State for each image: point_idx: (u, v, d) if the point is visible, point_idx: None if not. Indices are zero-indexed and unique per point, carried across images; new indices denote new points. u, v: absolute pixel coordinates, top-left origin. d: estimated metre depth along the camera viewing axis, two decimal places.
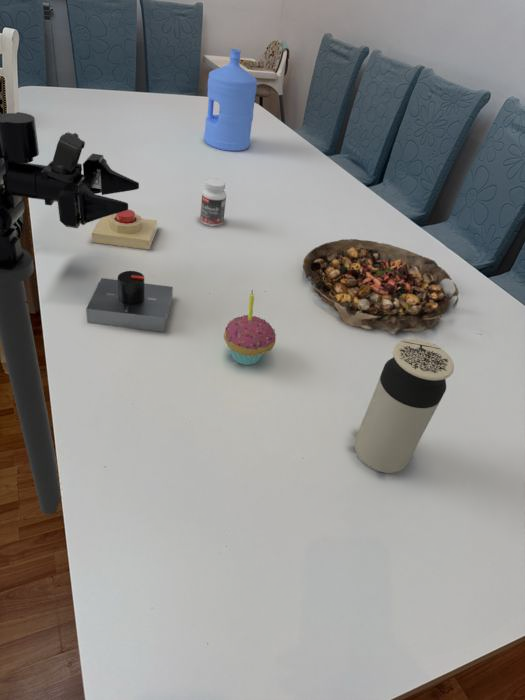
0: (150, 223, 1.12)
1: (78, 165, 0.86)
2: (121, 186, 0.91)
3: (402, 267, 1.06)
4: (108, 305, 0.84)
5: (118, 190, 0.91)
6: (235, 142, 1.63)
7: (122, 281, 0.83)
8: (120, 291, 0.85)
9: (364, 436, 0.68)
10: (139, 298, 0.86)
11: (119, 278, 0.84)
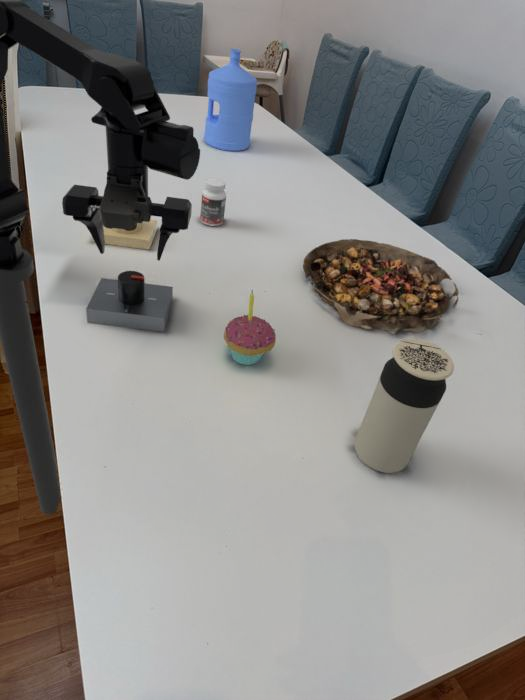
0: (150, 223, 1.12)
1: None
2: None
3: (402, 267, 1.06)
4: (108, 305, 0.84)
5: None
6: (235, 142, 1.63)
7: (122, 281, 0.83)
8: (120, 291, 0.85)
9: (364, 436, 0.68)
10: (139, 298, 0.86)
11: (119, 278, 0.84)
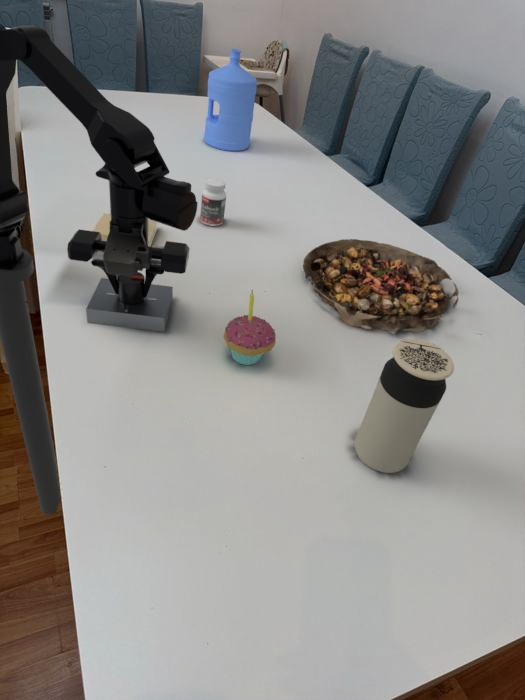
0: (150, 223, 1.12)
1: None
2: None
3: (402, 267, 1.06)
4: (108, 305, 0.84)
5: None
6: (235, 142, 1.63)
7: (122, 281, 0.83)
8: (120, 291, 0.85)
9: (364, 436, 0.68)
10: (139, 298, 0.86)
11: (119, 278, 0.84)
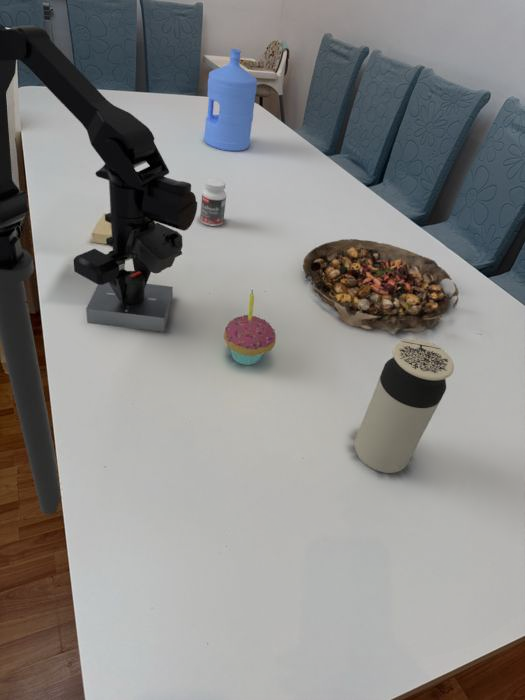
0: None
1: None
2: None
3: (402, 267, 1.06)
4: (108, 305, 0.84)
5: (135, 267, 0.87)
6: (235, 142, 1.63)
7: (133, 283, 0.83)
8: (131, 294, 0.84)
9: (364, 436, 0.68)
10: (144, 292, 0.87)
11: (126, 283, 0.83)
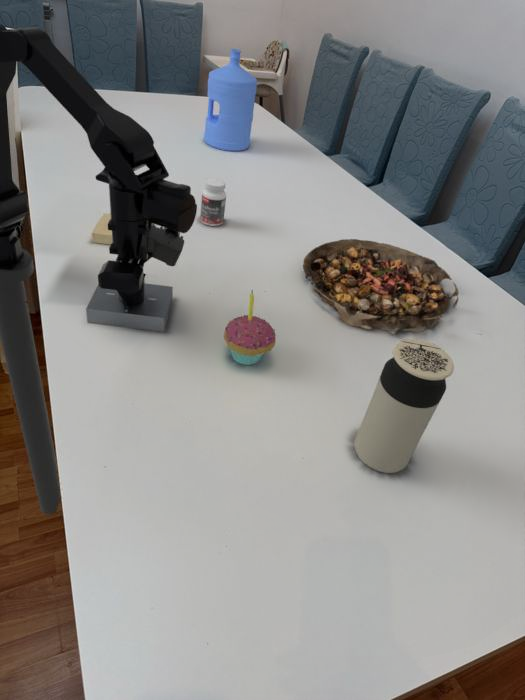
0: None
1: None
2: None
3: (402, 267, 1.06)
4: (108, 305, 0.84)
5: None
6: (235, 142, 1.63)
7: None
8: (138, 293, 0.85)
9: (364, 436, 0.68)
10: None
11: None
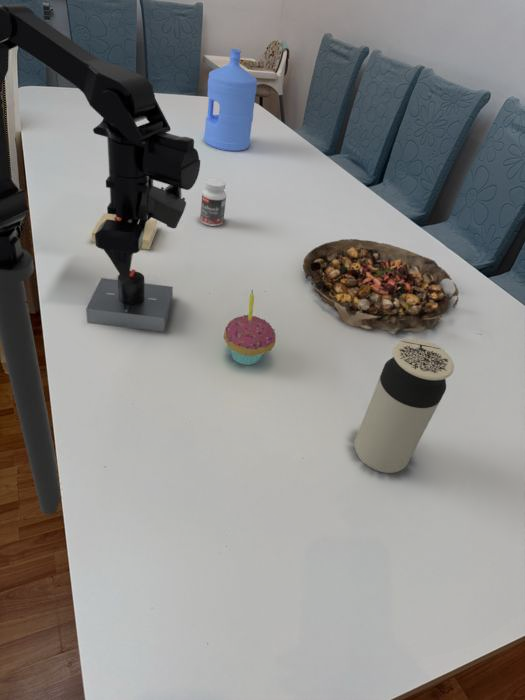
0: (150, 223, 1.12)
1: None
2: None
3: (402, 267, 1.06)
4: (108, 305, 0.84)
5: None
6: (235, 142, 1.63)
7: (139, 282, 0.84)
8: (138, 293, 0.85)
9: (364, 436, 0.68)
10: None
11: (133, 283, 0.83)
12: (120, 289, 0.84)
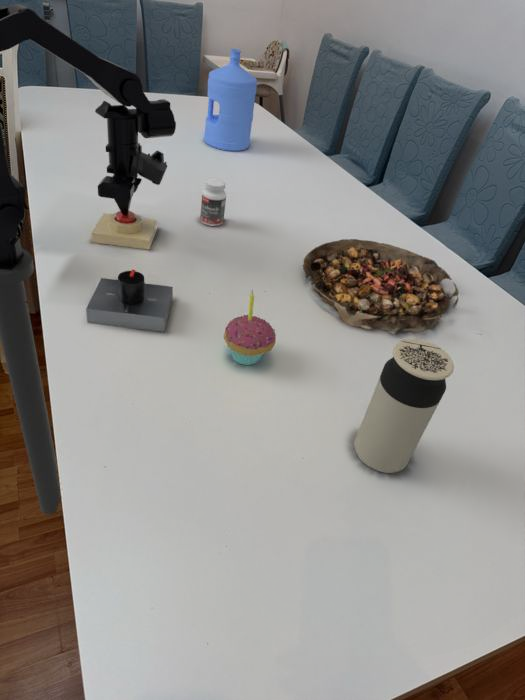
0: (150, 223, 1.12)
1: None
2: None
3: (402, 267, 1.06)
4: (108, 305, 0.84)
5: None
6: (235, 142, 1.63)
7: (139, 282, 0.84)
8: (138, 293, 0.85)
9: (364, 436, 0.68)
10: None
11: (133, 283, 0.83)
12: (120, 289, 0.84)
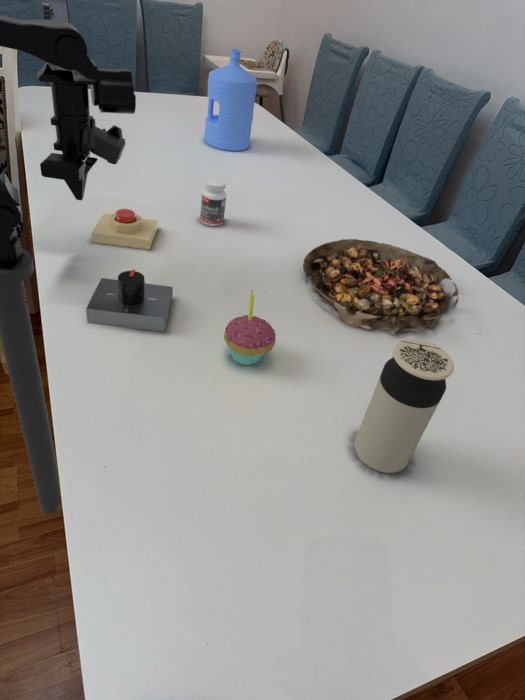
0: (150, 223, 1.12)
1: None
2: None
3: (402, 267, 1.06)
4: (108, 305, 0.84)
5: None
6: (235, 142, 1.63)
7: (139, 282, 0.84)
8: (138, 293, 0.85)
9: (364, 436, 0.68)
10: None
11: (133, 283, 0.83)
12: (120, 289, 0.84)
